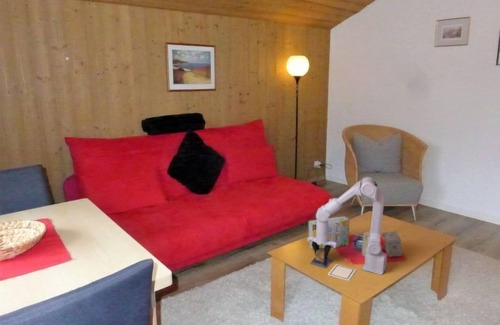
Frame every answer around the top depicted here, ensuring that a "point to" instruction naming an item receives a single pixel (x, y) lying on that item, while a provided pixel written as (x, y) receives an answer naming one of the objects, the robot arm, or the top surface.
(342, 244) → the snack box
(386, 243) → the incense holder
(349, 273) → the marked card
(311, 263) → the ink pad
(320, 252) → the walnut stamp
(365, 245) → the skincare box
